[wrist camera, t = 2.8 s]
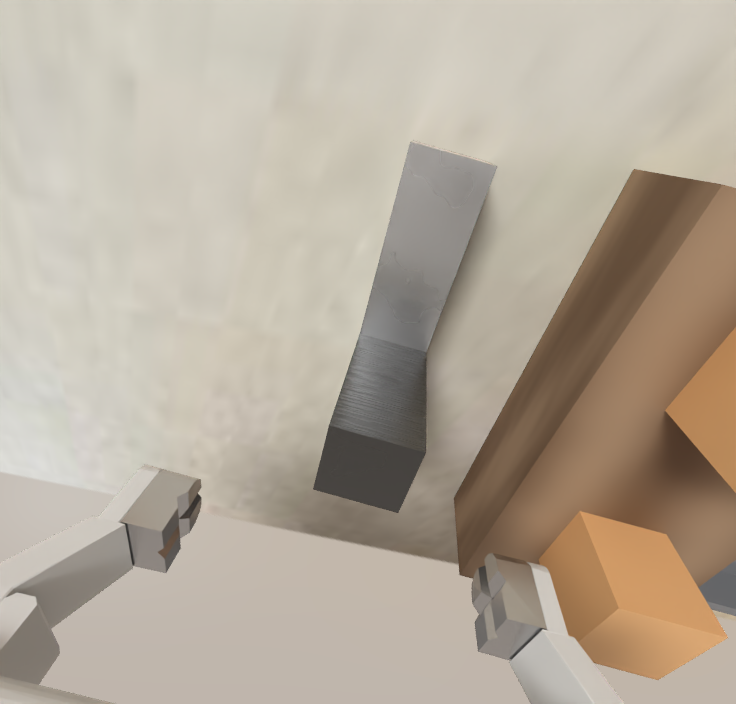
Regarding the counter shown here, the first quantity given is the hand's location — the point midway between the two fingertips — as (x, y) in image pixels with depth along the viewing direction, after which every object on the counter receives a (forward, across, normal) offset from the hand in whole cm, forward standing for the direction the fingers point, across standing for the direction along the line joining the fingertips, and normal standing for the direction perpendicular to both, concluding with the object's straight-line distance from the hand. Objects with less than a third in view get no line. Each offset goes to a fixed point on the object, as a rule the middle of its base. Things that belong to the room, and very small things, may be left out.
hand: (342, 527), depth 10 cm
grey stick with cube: (+11, 0, 0) cm, 11 cm away
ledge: (+10, -13, 0) cm, 17 cm away
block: (+6, -12, +5) cm, 14 cm away
